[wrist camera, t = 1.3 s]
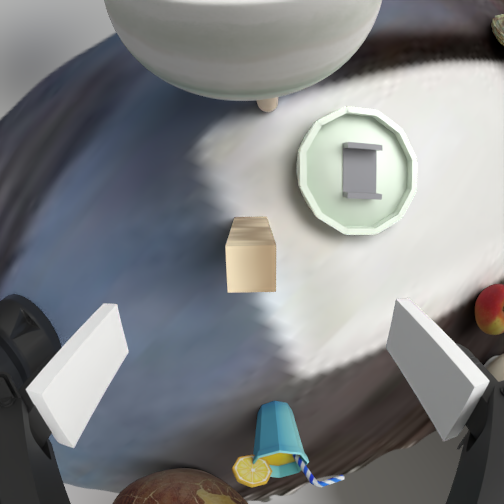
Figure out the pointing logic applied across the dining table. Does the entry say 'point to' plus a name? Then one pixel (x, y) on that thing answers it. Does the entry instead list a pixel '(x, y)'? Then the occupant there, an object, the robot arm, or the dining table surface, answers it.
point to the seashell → (498, 27)
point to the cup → (275, 449)
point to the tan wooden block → (251, 256)
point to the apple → (491, 309)
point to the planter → (243, 43)
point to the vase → (179, 489)
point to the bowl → (496, 367)
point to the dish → (357, 171)
